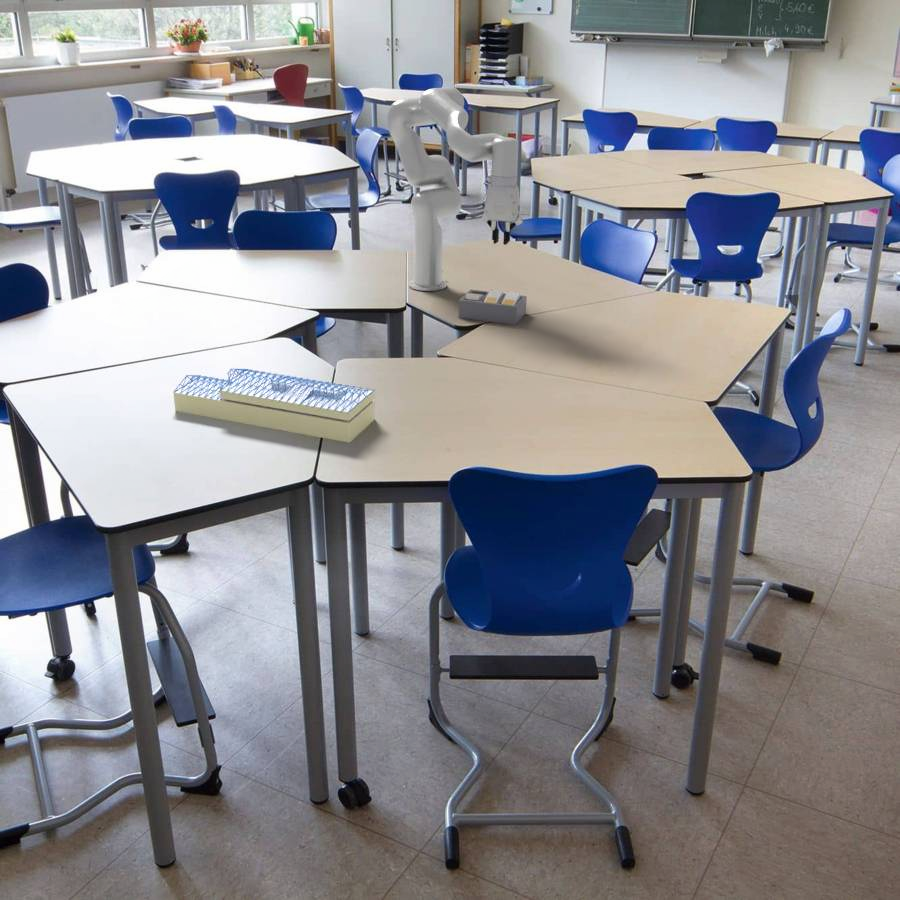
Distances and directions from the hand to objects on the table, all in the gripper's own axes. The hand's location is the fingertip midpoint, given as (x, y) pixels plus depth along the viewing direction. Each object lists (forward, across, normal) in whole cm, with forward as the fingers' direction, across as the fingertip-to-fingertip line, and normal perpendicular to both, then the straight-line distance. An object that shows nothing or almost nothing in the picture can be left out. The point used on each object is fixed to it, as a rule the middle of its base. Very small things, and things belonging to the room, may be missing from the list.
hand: (500, 242), depth 297 cm
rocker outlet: (+16, +6, -6) cm, 18 cm away
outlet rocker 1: (+16, -6, -6) cm, 18 cm away
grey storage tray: (+21, 0, -6) cm, 22 cm away
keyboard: (+22, -26, -98) cm, 104 cm away
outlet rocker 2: (+16, 0, -6) cm, 17 cm away
